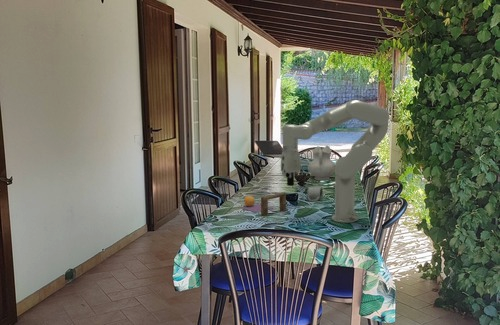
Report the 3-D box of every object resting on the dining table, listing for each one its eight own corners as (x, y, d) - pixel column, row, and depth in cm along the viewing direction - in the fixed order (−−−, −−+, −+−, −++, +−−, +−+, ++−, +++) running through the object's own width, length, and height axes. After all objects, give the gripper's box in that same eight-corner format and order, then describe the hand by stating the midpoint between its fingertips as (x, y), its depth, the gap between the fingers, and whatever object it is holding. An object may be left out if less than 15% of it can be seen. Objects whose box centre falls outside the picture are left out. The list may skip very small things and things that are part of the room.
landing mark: (273, 208, 248) (273, 208, 248) (255, 212, 240) (255, 212, 240) (258, 204, 258) (258, 203, 258) (240, 208, 250) (240, 207, 250)
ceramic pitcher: (337, 183, 317) (340, 148, 314) (309, 181, 318) (312, 147, 314) (332, 178, 339) (334, 145, 335) (306, 176, 339) (308, 143, 335)
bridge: (286, 211, 242) (285, 193, 240) (264, 216, 233) (264, 198, 231) (282, 210, 244) (282, 192, 243) (261, 215, 235) (260, 197, 234)
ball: (253, 207, 256) (258, 201, 252) (245, 209, 252) (249, 202, 248) (248, 199, 259) (253, 193, 255) (240, 201, 255) (244, 194, 251)
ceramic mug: (309, 197, 272) (309, 185, 271) (323, 198, 269) (323, 185, 268) (305, 201, 263) (305, 189, 261) (319, 202, 260) (319, 189, 258)
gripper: (284, 151, 216) (284, 188, 218) (306, 148, 225) (306, 184, 228) (274, 150, 221) (274, 186, 224) (295, 147, 231) (295, 182, 233)
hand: (290, 185), depth 226 cm, fingers closed
